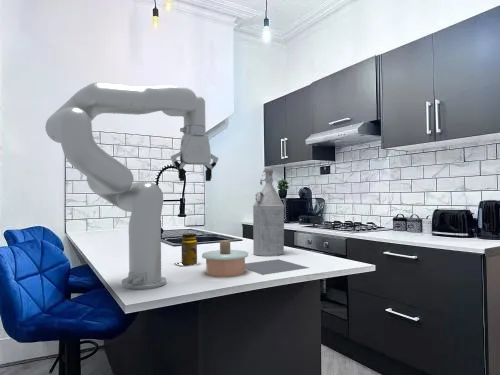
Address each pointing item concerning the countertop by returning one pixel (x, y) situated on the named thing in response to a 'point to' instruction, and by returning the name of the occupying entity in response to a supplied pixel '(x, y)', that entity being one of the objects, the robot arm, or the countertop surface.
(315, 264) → the countertop surface
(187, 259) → the condiment
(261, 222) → the swing top bottle
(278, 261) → the mat
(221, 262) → the bowl
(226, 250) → the lid
